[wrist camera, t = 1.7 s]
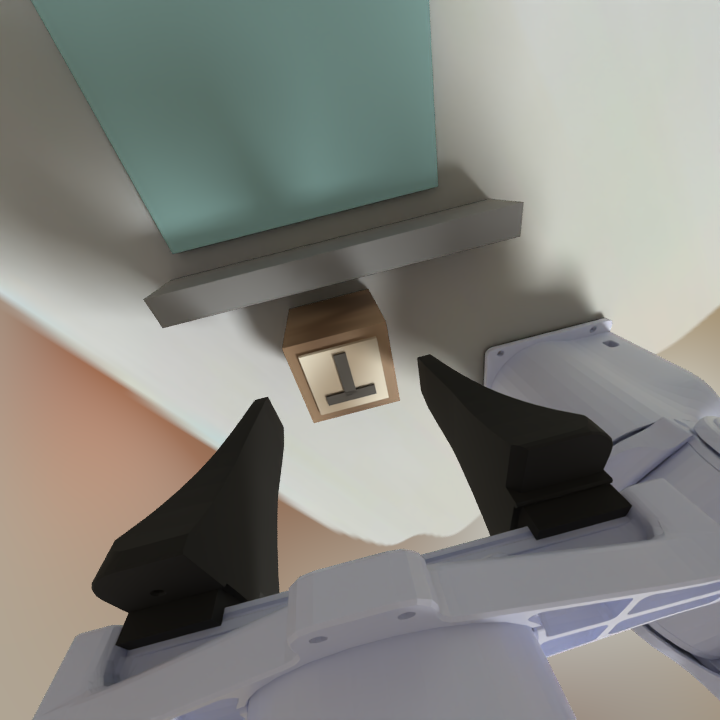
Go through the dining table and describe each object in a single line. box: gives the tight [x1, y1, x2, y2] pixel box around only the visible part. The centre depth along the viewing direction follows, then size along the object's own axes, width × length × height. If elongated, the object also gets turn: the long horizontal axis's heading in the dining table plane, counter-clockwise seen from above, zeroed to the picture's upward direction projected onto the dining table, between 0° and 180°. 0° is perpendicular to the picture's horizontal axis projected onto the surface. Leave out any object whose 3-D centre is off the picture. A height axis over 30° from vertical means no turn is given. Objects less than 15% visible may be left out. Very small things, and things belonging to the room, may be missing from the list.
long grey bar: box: [143, 199, 523, 328], centre depth 15 cm, size 18×2×3 cm, turn 102°
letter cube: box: [282, 289, 400, 423], centre depth 16 cm, size 5×5×5 cm
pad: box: [31, 0, 438, 254], centre depth 11 cm, size 14×12×1 cm
